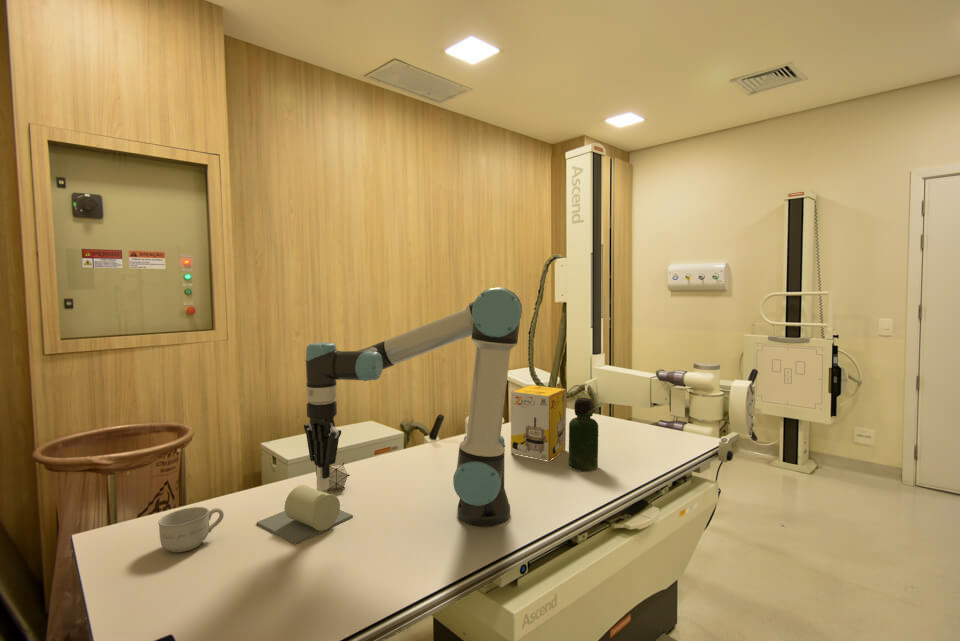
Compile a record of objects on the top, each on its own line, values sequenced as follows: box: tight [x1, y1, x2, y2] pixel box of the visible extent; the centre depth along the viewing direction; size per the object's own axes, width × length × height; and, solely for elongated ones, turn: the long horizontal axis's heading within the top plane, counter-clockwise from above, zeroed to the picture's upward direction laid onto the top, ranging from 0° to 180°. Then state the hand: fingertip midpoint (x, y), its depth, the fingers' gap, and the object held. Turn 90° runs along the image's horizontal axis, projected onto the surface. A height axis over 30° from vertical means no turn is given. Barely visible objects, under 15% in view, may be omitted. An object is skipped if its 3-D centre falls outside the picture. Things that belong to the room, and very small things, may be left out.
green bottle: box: [568, 397, 599, 472], centre depth 174 cm, size 10×10×25 cm
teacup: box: [157, 506, 225, 553], centre depth 120 cm, size 14×11×8 cm
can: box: [284, 484, 341, 532], centre depth 130 cm, size 9×9×12 cm
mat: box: [256, 509, 354, 545], centre depth 132 cm, size 18×18×1 cm
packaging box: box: [510, 384, 567, 462], centre depth 190 cm, size 16×16×25 cm
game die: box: [327, 462, 351, 492], centre depth 154 cm, size 9×8×10 cm
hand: (322, 488), depth 127 cm, fingers closed
